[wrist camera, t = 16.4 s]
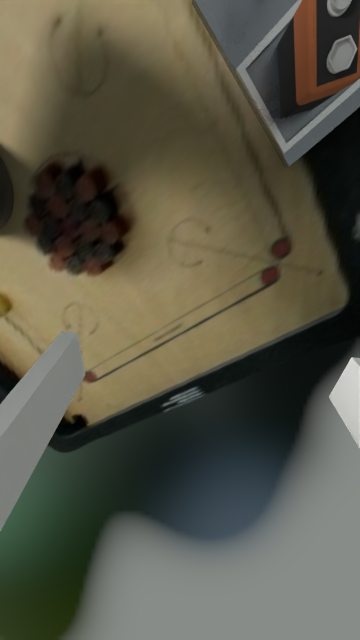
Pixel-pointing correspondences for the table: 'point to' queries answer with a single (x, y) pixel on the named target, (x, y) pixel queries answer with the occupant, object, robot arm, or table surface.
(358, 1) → the battery
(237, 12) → the arbor press
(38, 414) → the robot arm
